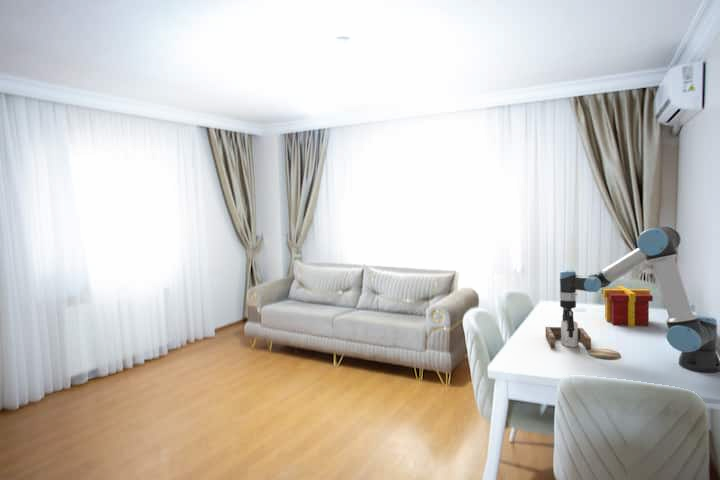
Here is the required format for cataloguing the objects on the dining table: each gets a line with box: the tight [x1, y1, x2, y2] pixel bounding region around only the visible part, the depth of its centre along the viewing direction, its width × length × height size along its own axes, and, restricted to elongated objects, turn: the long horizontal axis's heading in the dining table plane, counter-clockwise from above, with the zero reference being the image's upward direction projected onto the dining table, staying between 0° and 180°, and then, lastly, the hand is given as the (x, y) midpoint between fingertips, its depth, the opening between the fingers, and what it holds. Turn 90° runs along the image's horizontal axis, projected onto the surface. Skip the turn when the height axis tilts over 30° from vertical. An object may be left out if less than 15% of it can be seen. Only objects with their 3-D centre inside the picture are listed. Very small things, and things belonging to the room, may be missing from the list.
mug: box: [560, 320, 579, 348], centre depth 234 cm, size 12×8×12 cm
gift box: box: [601, 285, 654, 328], centre depth 274 cm, size 25×25×20 cm
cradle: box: [545, 326, 592, 351], centre depth 238 cm, size 20×19×6 cm
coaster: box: [587, 347, 621, 360], centre depth 218 cm, size 14×14×1 cm
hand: (568, 339), depth 235 cm, fingers open, 13 cm apart
